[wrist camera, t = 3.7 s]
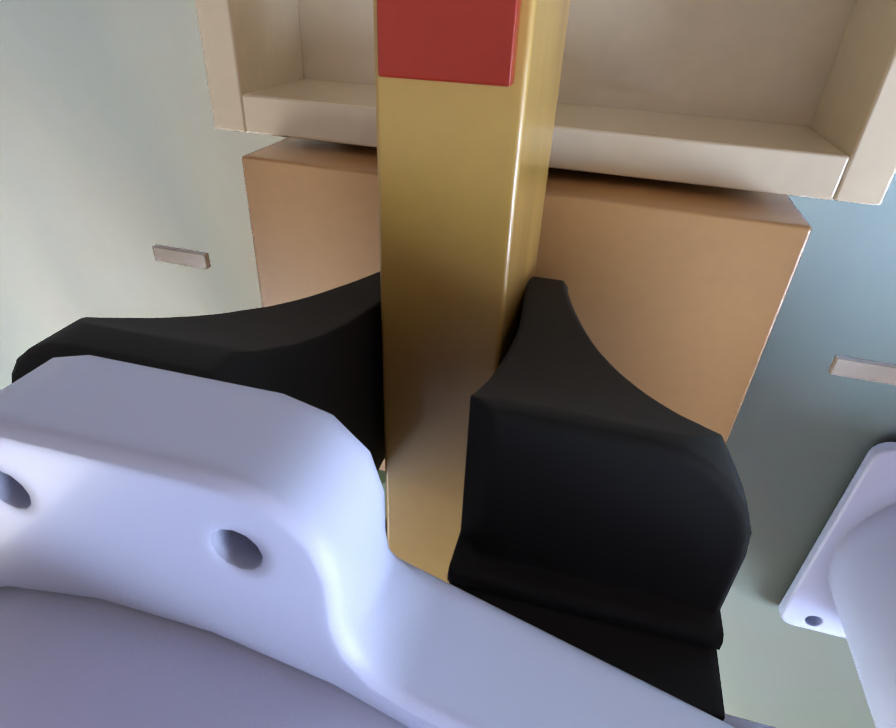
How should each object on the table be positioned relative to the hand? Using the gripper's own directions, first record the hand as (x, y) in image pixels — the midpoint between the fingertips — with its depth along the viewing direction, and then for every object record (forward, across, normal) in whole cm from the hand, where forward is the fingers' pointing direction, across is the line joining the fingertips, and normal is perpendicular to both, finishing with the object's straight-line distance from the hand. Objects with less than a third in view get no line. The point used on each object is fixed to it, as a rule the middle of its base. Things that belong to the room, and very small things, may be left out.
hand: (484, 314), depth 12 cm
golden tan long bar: (0, 0, 0) cm, 0 cm away
